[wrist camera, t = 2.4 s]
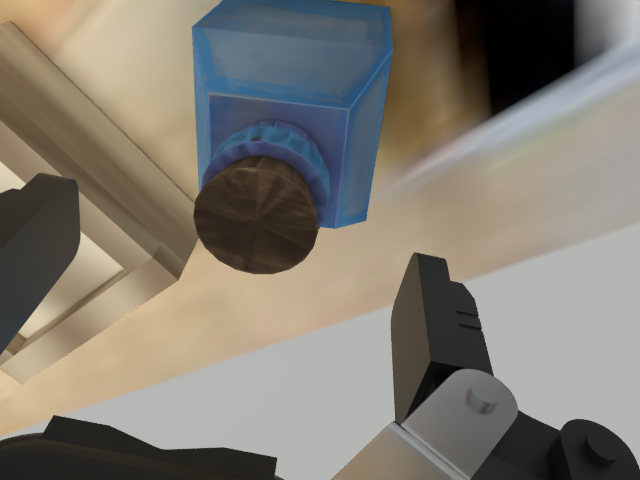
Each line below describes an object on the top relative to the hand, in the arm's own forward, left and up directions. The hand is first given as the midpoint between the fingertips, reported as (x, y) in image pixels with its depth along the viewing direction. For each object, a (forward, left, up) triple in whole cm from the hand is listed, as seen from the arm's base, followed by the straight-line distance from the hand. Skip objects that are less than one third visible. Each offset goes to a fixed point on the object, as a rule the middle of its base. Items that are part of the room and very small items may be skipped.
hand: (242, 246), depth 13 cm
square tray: (+9, -12, -13) cm, 20 cm away
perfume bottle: (0, 0, -13) cm, 13 cm away
